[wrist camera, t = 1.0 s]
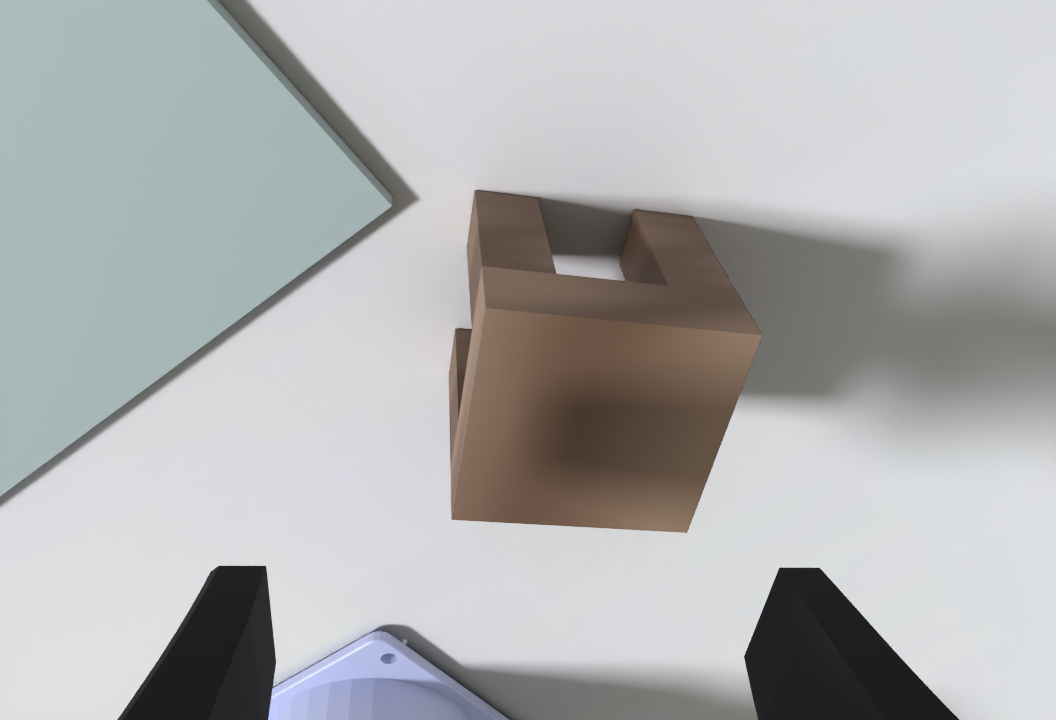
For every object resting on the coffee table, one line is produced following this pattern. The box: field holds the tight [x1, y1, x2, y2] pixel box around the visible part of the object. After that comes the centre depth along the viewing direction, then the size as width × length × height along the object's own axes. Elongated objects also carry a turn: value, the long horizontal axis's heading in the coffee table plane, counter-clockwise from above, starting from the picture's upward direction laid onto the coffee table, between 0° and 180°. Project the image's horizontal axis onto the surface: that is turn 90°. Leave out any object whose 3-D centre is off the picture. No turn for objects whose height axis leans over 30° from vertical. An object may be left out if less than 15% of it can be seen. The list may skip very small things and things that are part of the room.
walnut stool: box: [449, 190, 762, 533], centre depth 18 cm, size 5×5×5 cm
